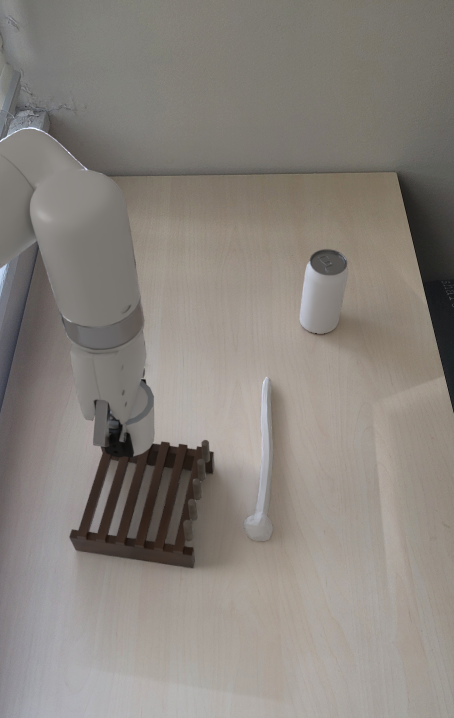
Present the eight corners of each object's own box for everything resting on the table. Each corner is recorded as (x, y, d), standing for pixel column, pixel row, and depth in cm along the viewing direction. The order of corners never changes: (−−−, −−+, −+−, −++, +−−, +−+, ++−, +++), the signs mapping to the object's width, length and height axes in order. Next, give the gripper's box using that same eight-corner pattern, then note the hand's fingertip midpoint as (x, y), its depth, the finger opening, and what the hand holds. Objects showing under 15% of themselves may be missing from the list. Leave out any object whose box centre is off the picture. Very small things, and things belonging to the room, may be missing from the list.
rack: (75, 550, 85) (60, 519, 78) (106, 452, 93) (95, 415, 85) (193, 568, 84) (189, 539, 76) (214, 467, 92) (213, 431, 84)
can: (310, 340, 104) (319, 281, 93) (292, 313, 106) (299, 254, 96) (345, 328, 105) (358, 269, 94) (326, 302, 108) (336, 242, 97)
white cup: (156, 410, 78) (150, 372, 72) (163, 456, 75) (157, 420, 69) (100, 418, 78) (89, 380, 72) (104, 464, 74) (93, 429, 68)
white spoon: (247, 380, 99) (247, 367, 97) (273, 380, 99) (274, 368, 97) (242, 542, 86) (242, 532, 83) (272, 543, 86) (273, 533, 83)
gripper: (87, 245, 63) (115, 366, 79) (34, 379, 55) (76, 485, 71) (161, 253, 63) (174, 374, 78) (118, 390, 54) (142, 495, 70)
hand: (128, 426), depth 74 cm, fingers closed on white cup, 6 cm apart
